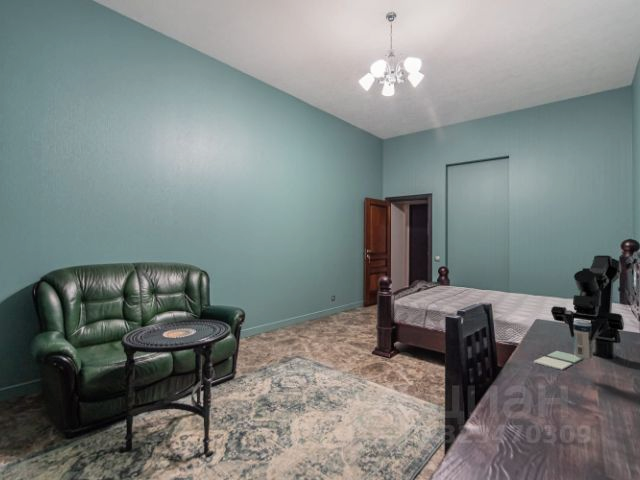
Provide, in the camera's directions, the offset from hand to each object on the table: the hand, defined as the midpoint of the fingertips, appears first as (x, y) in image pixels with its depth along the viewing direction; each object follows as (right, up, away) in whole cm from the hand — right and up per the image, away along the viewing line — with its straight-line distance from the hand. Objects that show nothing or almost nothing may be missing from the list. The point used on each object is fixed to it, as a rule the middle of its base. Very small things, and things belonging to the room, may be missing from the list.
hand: (581, 338), depth 106 cm
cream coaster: (0, -13, +13) cm, 19 cm away
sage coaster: (+9, -13, +19) cm, 25 cm away
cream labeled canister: (+1, -7, +1) cm, 7 cm away
